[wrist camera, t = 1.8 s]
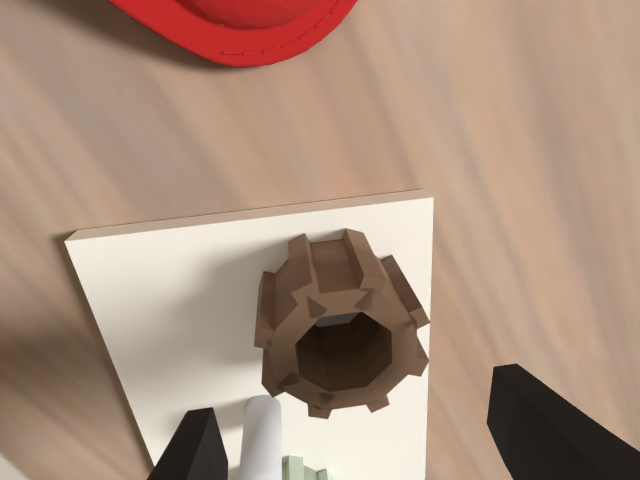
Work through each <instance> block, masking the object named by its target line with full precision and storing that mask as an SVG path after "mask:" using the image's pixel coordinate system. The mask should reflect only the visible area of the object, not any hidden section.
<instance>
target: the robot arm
mask: <svg viewBox="0 0 640 480" xmlns="http://www.w3.org/2000/svg"><path fill="white" fill-rule="evenodd" d="M487 425H488V427H489V430H490V432H491V434H492V437H493V439H494V441H495V444H496V446H497V448H498V450H499V453H500V455H501V457H502V459H503V461H504V463H505V465H506V467H507V469H508V471H509V472H510V474H511V476H512V478H513V479H514V480H640V452H639V451H638V450H636V449H635V448H633V447H632V446H630V445H629V444H627V443H626V442H624V441H623V440H621V439H620V438H618V437H617V436H615V435H614V434H613V433H611V432H610V431H608V430H607V429H605V428H604V427H603V426H601V425H600V424H598V423H597V422H595V421H594V420H593V419H591V418H590V417H588V416H587V415H586V414H584V413H583V412H582V411H580V410H579V409H577V408H576V407H575V406H573V405H572V404H571V403H569V402H568V401H567V400H565V399H564V398H562V397H561V396H560V395H558V394H557V393H556V392H554V391H553V390H552V389H550V388H549V387H548V386H546V385H545V384H544V383H542V382H541V381H540V380H538V379H537V378H536V377H534V376H533V375H532V374H530V373H529V372H528V371H526V370H525V369H523V368H522V367H521V366H519V365H518V364H510V365H503V366H496V367H494V369H493V377H492V385H491V393H490V401H489V409H488V417H487ZM147 480H228V458H227V455H226V451H225V448H224V444H223V441H222V437H221V434H220V430H219V427H218V423H217V420H216V416H215V413H214V409H213V407H209V408H202V409H195V410H188V411H187V413H186V414H185V415H184V417H183V419H182V420H181V422H180V424H179V426H178V428H177V429H176V431H175V433H174V435H173V437H172V438H171V440H170V442H169V444H168V445H167V447H166V449H165V450H164V452H163V454H162V455H161V457H160V459H159V461H158V462H157V464H156V466H155V467H154V469H153V471H152V472H151V474H150V475H149V477H148V479H147Z"/></svg>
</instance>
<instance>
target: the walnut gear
mask: <svg viewBox="0 0 640 480" xmlns="http://www.w3.org/2000/svg"><path fill="white" fill-rule="evenodd" d="M288 252H289V258H288V259H287V260H286V261H285V263H284V264H283V265H282V266H281V267H280V268H279V270H278V271H277V272H276V273H271V272H267V271H263V274H262V277H261V281H260V284H259V291H258V303H257V314H256V326H255V338H254V347H258V348H263V362H262V381H261V384H262V385H263V387H264V388H265V389H266V390H267V392H268V393H269V394H270V395H271V396H272V398H273V397H275V396H278V395H280V394H282V393H284V392H286V393H288V394H290V395H291V396H293V397H295V398H297V399H299V400H301V401H303V402H304V403H306V404H307V406H308V417H315V418H322V419H328V418H329V416H330V414H331V411H332V410H334V409H341V408H348V407H355V406H362V405H366V406H367V407H368V409H369V410H370V412H371V413H373V412H375V411H377V410H379V409H382V408H384V407H386V406H388V405H390V403H389V400H388V397H387V394H388V393H389V392H390V391H391V390H392V389H393V388H394V387H395V386H396V385H398V384H399V383H400V382H401V381H402V380H403V379H404V378H405V377H406V376H407V375H413V376H419V377H421V376H422V374H423V372H424V370H425V368H426V366H427V364H428V362H429V359H428V357H427V355H426V353H425V351H424V349H423V347H422V345H421V343H420V341H419V339H418V337H417V329H419V328H421V327H423V326H425V325H427V324H429V323H430V321H429V319H428V317H427V315H426V313H425V311H424V309H423V307H422V305H421V303H420V302H419V300H418V298H417V296H416V295H415V293H414V291H413V289H412V288H411V286H410V284H409V283H408V281H407V279H406V277H405V276H404V274H403V272H402V271H401V269H400V267H399V265H398V264H397V262H396V260H395V258H394V257H393V255H390V256H388V257H386V258H384V259H382V260H381V259H379V258H378V257H377V256H375V255H374V253H373V251H372V249H371V247H370V245H369V243H368V241H367V239H366V237H365V235H364V233H363V232H359V231H355V230H352V229H348V228H345V231H344V234H343V237H342V239H338V240H330V241H322V242H314V243H311V242H310V241H309V239H308V237H307V236H306V234H305V233H304V234H302V235H300V236H298V237H296V238H294V239H292V240H291V241H289V242H288ZM355 312H359V313H358V314H357V315H356V316H355V317H354V319H353V320H352V321H351V322H350V323H345V324H337V325H330V326H322V327H318V326H317V325H315V322H316V321H317V320H318V319H319V318H320V317H325V316H333V315H340V314H348V313H355Z"/></svg>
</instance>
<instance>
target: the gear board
mask: <svg viewBox="0 0 640 480" xmlns="http://www.w3.org/2000/svg"><path fill="white" fill-rule="evenodd" d="M433 201H434V197H433V196H432V195H431V194H429V193H428V192H427V191H426V190H425V189H420V190H412V191H403V192H395V193H387V194H378V195H370V196H361V197H353V198H344V199H336V200H328V201H319V202H311V203H302V204H294V205H285V206H277V207H268V208H260V209H252V210H243V211H235V212H226V213H218V214H209V215H201V216H193V217H184V218H176V219H167V220H159V221H150V222H142V223H133V224H125V225H117V226H108V227H100V228H91V229H83V230H77V231H76V232H75V233H74V234H72V235H71V236H70V237H69V238H68V239H67V240H65V241H64V242H65V245H66V247H67V250H68V252H69V255H70V257H71V260H72V262H73V265H74V267H75V270H76V272H77V274H78V277H79V279H80V282H81V284H82V287H83V289H84V292H85V294H86V297H87V299H88V302H89V304H90V307H91V309H92V312H93V314H94V317H95V319H96V322H97V324H98V327H99V329H100V332H101V334H102V337H103V339H104V342H105V344H106V347H107V349H108V352H109V354H110V357H111V359H112V362H113V364H114V367H115V369H116V372H117V374H118V377H119V379H120V382H121V384H122V387H123V389H124V392H125V394H126V397H127V399H128V401H129V404H130V406H131V409H132V411H133V414H134V416H135V419H136V421H137V424H138V426H139V429H140V431H141V434H142V436H143V439H144V441H145V444H146V446H147V449H148V451H149V454H150V456H151V459H152V461H153V464H154V466H156V464H157V462H158V461H159V459H160V457H161V455H162V454H163V452H164V450H165V449H166V447H167V445H168V444H169V442H170V440H171V438H172V437H173V435H174V433H175V431H176V429H177V428H178V426H179V424H180V422H181V420H182V419H183V417H184V415H185V414H186V413H187V411H188V410H195V409H202V408H209V407H213V409H214V413H215V416H216V420H217V423H218V427H219V430H220V434H221V437H222V441H223V444H224V448H225V451H226V455H227V458H228V480H425V459H426V427H427V394H428V364H427V366H426V368H425V370H424V372H423V374H422V376H421V377H419V376H413V375H407V376H406V377H405V378H404V379H403V380H402V381H401V382H400V383H399V384H398V385H396V386H395V387H394V388H393V389H392V390H391V391H390V392H389V393H388V394H387V397H388V400H389V403H390V405H388V406H386V407H384V408H382V409H379V410H377V411H375V412H373V413H371V412H370V410H369V409H368V407H367V406H366V405H362V406H355V407H348V408H341V409H334V410H332V411H331V414H330V416H329V418H328V419H322V418H315V417H308V406H307V404H306V403H304V402H303V401H301V400H299V399H297V398H295V397H293V396H291V395H290V394H288V393H286V392H284V393H282V394H280V395H278V396H275V397H273V398H272V396H271V395H270V394H269V393H268V392H267V390H266V389H265V388H264V387H263V385H262V384H261V381H262V362H263V348H258V347H254V338H255V326H256V314H257V303H258V291H259V284H260V281H261V277H262V274H263V271H267V272H271V273H276V272H277V271H278V270H279V268H280V267H281V266H282V265H283V264H284V263H285V261H286V260H287V259H288V258H289V252H288V242H289V241H291V240H292V239H294V238H296V237H298V236H300V235H302V234H304V233H305V234H306V236H307V237H308V239H309V241H310V242H311V243H314V242H322V241H330V240H338V239H342V237H343V234H344V231H345V228H348V229H352V230H355V231H359V232H363V233H364V235H365V237H366V239H367V241H368V243H369V245H370V247H371V249H372V251H373V253H374V255H375V256H377V257H378V258H379V259H381V260H382V259H384V258H386V257H388V256H390V255H393V257H394V258H395V260H396V262H397V264H398V265H399V267H400V269H401V271H402V272H403V274H404V276H405V277H406V279H407V281H408V283H409V284H410V286H411V288H412V289H413V291H414V293H415V295H416V296H417V298H418V300H419V302H420V303H421V305H422V307H423V309H424V311H425V313H426V315H427V317H428V319H429V321H430V298H431V266H432V233H433ZM358 313H359V312H355V313H348V314H340V315H333V316H325V317H320V318H319V319H318V320H317V321H316V322H315V325H317V326H318V327H322V326H330V325H337V324H345V323H350V322H351V321H352V320H353V319H354V317H355V316H356V315H357V314H358ZM429 330H430V323H429V324H427V325H425V326H423V327H421V328H419V329H417V337H418V339H419V341H420V343H421V345H422V347H423V349H424V351H425V353H426V355H427V357H428V359H429Z"/></svg>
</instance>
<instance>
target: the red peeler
mask: <svg viewBox="0 0 640 480" xmlns="http://www.w3.org/2000/svg"><path fill="white" fill-rule="evenodd" d="M108 1H109V2H111V3H112V4H114V5H115V6H116V7H118V8H119V9H120V10H122V11H123V12H124V13H126V14H127V15H129V16H130V17H132V18H133V19H135V20H137V21H138V22H140V23H141V24H143V25H145V26H146V27H148V28H149V29H151V30H153V31H154V32H156V33H157V34H159V35H161V36H162V37H164V38H165V39H167V40H169V41H170V42H172V43H174V44H176V45H178V46H180V47H182V48H183V49H185V50H187V51H189V52H191V53H194V54H196V55H198V56H200V57H202V58H205V59H207V60H210V61H213V62H216V63H219V64H223V65H230V66H238V67H250V66H260V65H270V64H274V63H277V62H280V61H284V60H287V59H289V58H292V57H294V56H296V55H299V54H301V53H303V52H305V51H306V50H308V49H309V48H311V47H312V46H314V45H315V44H317V43H318V42H319V41H321V40H322V39H323V38H325V37H326V36H327V35H328V34H329V33H330V32H331V31H333V30H334V29H335V28H336V27H337V26H338V25H339V24H340V23H341V22H342V20H343V19H344V18H345V17H346V15H347V14H348V13H349V11H350V10H351V9H352V7H353V6H354V4H355V3H356V2H357V0H108Z"/></svg>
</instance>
